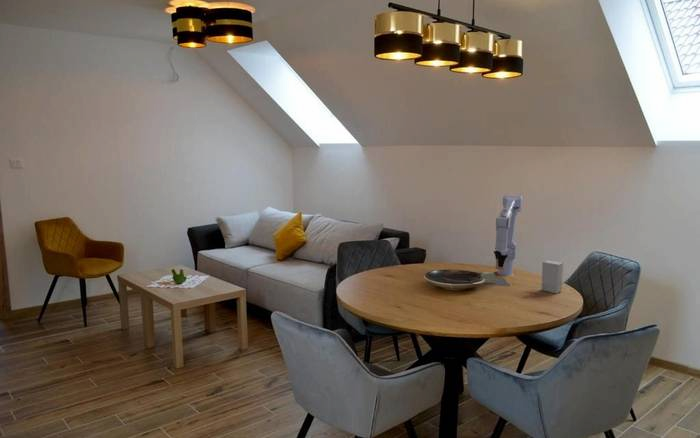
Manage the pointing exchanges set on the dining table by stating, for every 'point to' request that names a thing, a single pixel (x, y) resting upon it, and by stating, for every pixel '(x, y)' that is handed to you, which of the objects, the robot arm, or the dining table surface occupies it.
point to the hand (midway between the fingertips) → (499, 265)
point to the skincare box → (552, 276)
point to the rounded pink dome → (497, 265)
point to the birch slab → (489, 280)
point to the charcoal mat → (498, 282)
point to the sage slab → (488, 275)
